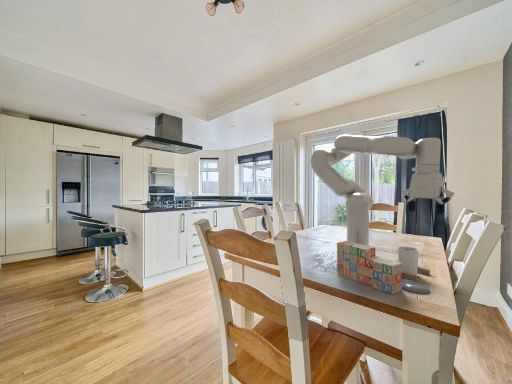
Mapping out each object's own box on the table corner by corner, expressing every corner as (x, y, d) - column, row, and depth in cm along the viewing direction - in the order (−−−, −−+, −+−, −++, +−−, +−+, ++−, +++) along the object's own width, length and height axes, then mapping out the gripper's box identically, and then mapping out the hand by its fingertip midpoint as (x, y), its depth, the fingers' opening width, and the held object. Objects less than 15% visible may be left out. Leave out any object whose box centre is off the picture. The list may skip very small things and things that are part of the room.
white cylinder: (393, 271, 86) (393, 247, 86) (406, 269, 88) (406, 245, 88) (409, 278, 80) (409, 251, 80) (422, 276, 82) (423, 250, 82)
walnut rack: (379, 271, 87) (379, 266, 87) (394, 265, 94) (395, 260, 94) (415, 282, 76) (415, 276, 76) (429, 274, 83) (429, 269, 83)
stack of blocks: (402, 291, 70) (402, 253, 70) (391, 295, 67) (392, 256, 67) (346, 269, 89) (347, 240, 89) (336, 272, 86) (336, 241, 86)
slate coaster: (391, 285, 74) (391, 283, 74) (403, 279, 79) (403, 277, 79) (423, 296, 66) (423, 293, 66) (433, 288, 71) (433, 286, 71)
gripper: (398, 170, 91) (397, 210, 91) (449, 167, 75) (447, 216, 76) (409, 171, 94) (407, 210, 95) (459, 169, 79) (457, 215, 79)
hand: (425, 212), depth 85 cm, fingers open, 9 cm apart
